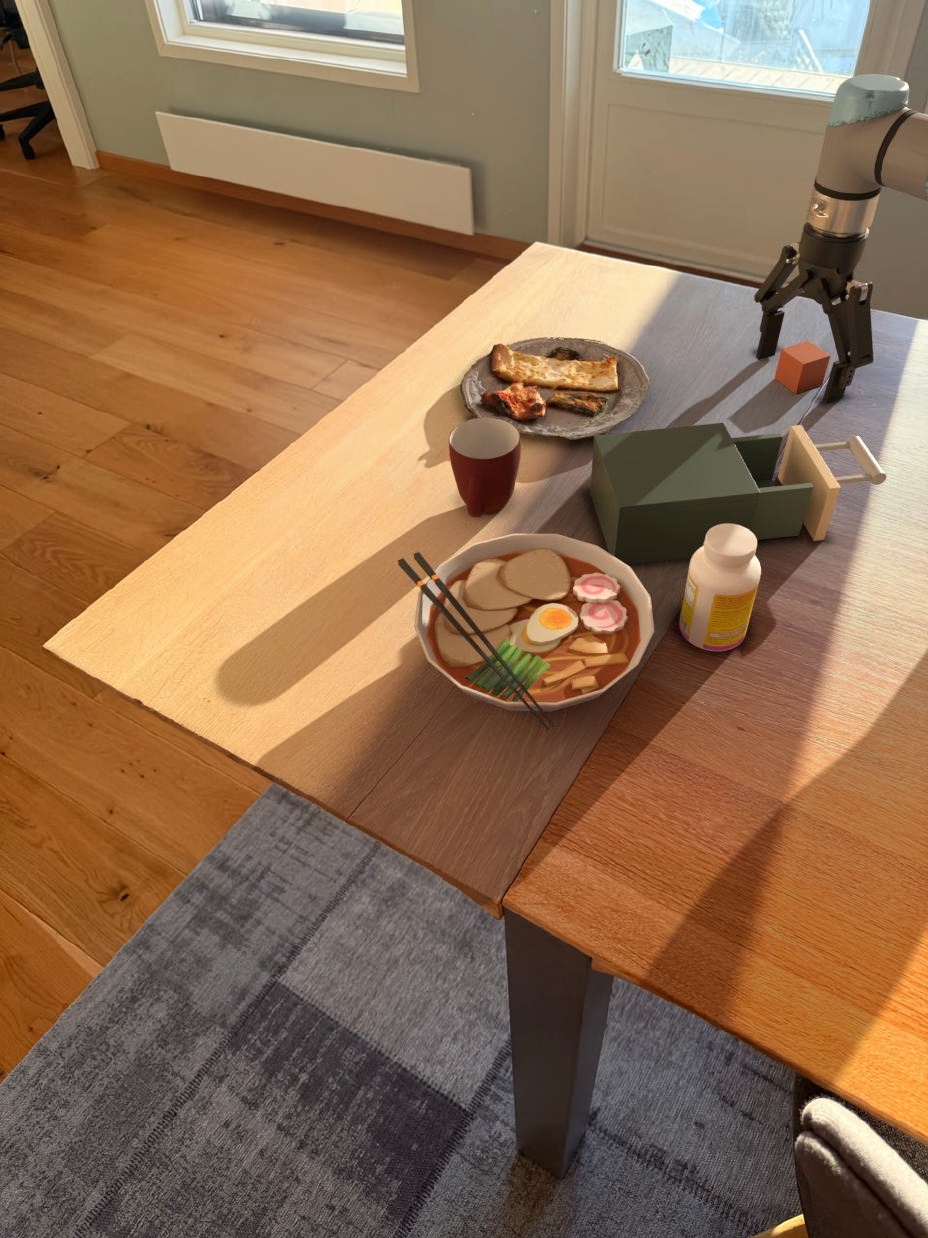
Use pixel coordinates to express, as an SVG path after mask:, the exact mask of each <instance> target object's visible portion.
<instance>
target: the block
mask: <svg viewBox="0 0 928 1238" xmlns="http://www.w3.org/2000/svg"><path fill="white" fill-rule="evenodd" d="M830 359H831V355H830V354H829V353H827V352H826V351H824V350H823V349H821V348H820V347H818V346H817V345H816V344H815V343H813V342H811V341H810V340H806V341H803V342H799V343H795V344H793V345H789V346H786V347H783V348H781V349H780V353H779V357H778V361H777V365H776V370H775V375H774V379H775V380H776V381H778V382H779V383H780V384H782V385H783V386H784V387H785V388H787V389H788V390H789V391H791V392H792V393H793V394H795V395H797V394H800V393H803V392H807V391H809V390H812V389H816V388H818V387H821V386H823V384H824V381H825V378H826V377H825V376H826V374H827V369H828V366H829V363H830Z"/></svg>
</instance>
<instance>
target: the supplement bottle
mask: <svg viewBox="0 0 928 1238" xmlns="http://www.w3.org/2000/svg"><path fill="white" fill-rule="evenodd" d="M757 547H758V540H757V539H756V537H755V535H754V534H753V533H752V532H751V531H750V530H749V529H747V528H745V527H743V526H740V525H736V524H720V525H716V526H714V527H712V528H711V529H710V530H709V531H708V532H707V534H706V537H705V541H704V546H702V547H701V548H699V549H698V550H697V551H696V552H695V553H694V554H693V556H692V558H690V561H689V564H688V572H687V577H686V581H685V582H686V583H685V589H684V593H683V599H682V605H681V610H680V616H679V623H678V625H679V630H680V633H681V634H682V636H683V638H685V639H686V641H687V642H689V643H690V644H692V646H695V647H697V648H700V649H702V650H705V651H708V652H709V651H710V652H725V651H729V650H732V649H735V648H736V647H738V646H739V645H740V644H742V642H743V641H744V639H745V638H746V634H747V630H748V628H749V627H748V626H749V623H750V619H751V614H752V611H753V608H754V603H755V599H756V595H757V591H758V588H759V584H760V580H761V575H762V567H761V563H760V561H759V559H758V558H757V556H756V552H757Z"/></svg>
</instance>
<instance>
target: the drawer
mask: <svg viewBox="0 0 928 1238" xmlns="http://www.w3.org/2000/svg"><path fill="white" fill-rule="evenodd" d="M731 438H732V440H733V442H734V444H735V446H736V448H737V450H738V451H739V453H740V455H741V457H742V459H743V461H744V463H745V465H746V466H747V468H748V470H749V472H750V474H751V476H752V478H753V480H754V482H755V483H756V485H757V487H758V489H759V491H760V497H759V501H758V505H757V509H756V513H755V517H754V521H753V525H752V529H751V532H752V533H753V534H754V535H755V537H756V539H757V541H760V540H770V539H780V538H789V537H798V536H800V533H801V530H802V527H803V525H804V527H805V528H806V530H807V532H808V533H809V536H810V537H811V539H812V540H813V542H815V541H824V540H825V537H826V535H827V531H828V528H829V525H830V522H831V519H832V516H833V513H834V509H835V508H836V504H837V501H838V497H839V495H840V491H841V488H842V487H841V486H840V485H846V484H854V483H865V482H871V484H872V485H874V486H879V485H881V484H883V483H884V482H885V481H886V479H887V474H886V473H885V471H884V470H883V469H882V467H881V466H880V464H879V463H878V461H877V460H876V458H875V457H874V455H873V453H872V452H871V451H870V449H869V448H868V446H866V444H865V443H864V441H863V440H862V438H861V437H860V436H858V435H854V436H851V437H850V438H848V439H847V441H838V442H828V443H818V444H814V443H813V441H812V440H811V438H810V437H809V434H807V432H806V430H805V429H804V427H803V426H802V424H795V425H790V429H789V432H788V435H787V440H786V443H785V448H784V451H783V452H784V453H783V455H782V460H781V463H780V468H779V472H778V475H777V478H778V480H779V482H780V484H781V485H777V486H776V484H775V482H774V480H773V477H774V475H775V470H776V466H777V462H778V457H779V454H780V449H781V447H782V446H781V445H782V441H783V438H784V436H783V435H782V433H781V432H778V433H777V432H776V433H767V434H758V435H749V436H748V435H746V436H739V437H731ZM845 449H848V450H849V452H850V453H851V454H852V456H853V458H854V459H855V460H856V462H857V463H858V465H859V466H860V468H861V469H862V471H863V473H862V474H852V475H843V476H834V474H833V473H832V471H831V470H830V468H829V466H828V465H827V463H826V462H825V460H824V459H823V457H822V456H821V454H820V452H827V451H837V450H845Z"/></svg>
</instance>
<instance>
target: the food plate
mask: <svg viewBox="0 0 928 1238" xmlns="http://www.w3.org/2000/svg"><path fill="white" fill-rule="evenodd" d="M645 370H646V369H645V367H644V365H642V364H641V362H640V361H639V360H638V359H637V358H636V357H635V356H633V355H632V354H630V353H629V352H628V351H624V350H623V349H621V348H617V347H615V346H613V345H610V344H608V342H606V343H605V342H604V341H601V340H596V339H589V338H578V337H559V336H558V337H552V336H550V337H549V336H548V337H547V336H544V337H536V338H535V337H534V338H527V339H523V340H517V341H516V342H513V343H510V344H507V345H505V344H503V343H497V344H496V343H495V344H493V346H492V349H491V350H490V352H489V353H488V354H485V355H484V356H482V357H479V358H478V359H477V360H476V361H475V363H473V364H472V365H471V366H470V368H469V369H468V370H467V371H466V372H465V373H464V375H463V378H462V379H461V382H460V385H459V389H460V394H461V396H462V400H463V402H464V407H465V409H467V412H469V413H470V414H471V418H473V417H474V416H475V418H484V417H489V418H497V419H501V420H504V421H507V422H509V423H511V424H512V425H513V426H515V427H516V428H517V430H518V431H519V433H522V434H526V435H530V436H531V437H533V436H544V437H553V436H554V437H558V436H559V437H560V438H561V437H562V438H563V437H564V438H565V439H567V440H570V441H572V440H577V439H578V440H580V439H587V438H591V437H594V436H595V435H603V434H605V433H607V432H608V431H610V430H612V429H613V428H614V429H615V426H617V424H620V423H622V422H623V421H625V420H627V419H629V418H630V417H631V416H633V415H634V413H635V412H636V411H637V410H638V409H639V408H640V407H641V405H642V404H643V402H644V400H645V398H646V394H647V392H648V388H649V384H650V377H649V375H648V373H647V372H646V371H645Z"/></svg>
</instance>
